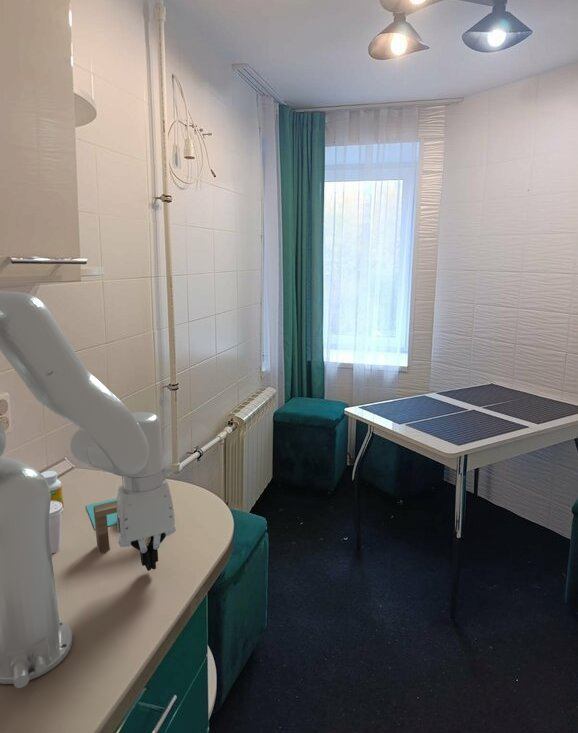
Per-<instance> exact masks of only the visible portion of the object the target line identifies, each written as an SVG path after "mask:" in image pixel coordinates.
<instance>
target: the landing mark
mask: <svg viewBox="0 0 578 733" xmlns="http://www.w3.org/2000/svg"><path fill="white" fill-rule="evenodd" d="M113 501H117V497H116V498H112V499H108V500H104V501H99V502H95V503H92V504H87V505H85V508H86V511H87V513H88V515H89V518H90V521H91V523H92V525H93V528H94V530H95V531H96V528H95V518H94V508H93V506H96V505H100V504H105V503H109V502H113ZM107 526H108V528H109V527H112V526H117V513H113V514H109V515H107Z"/></svg>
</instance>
